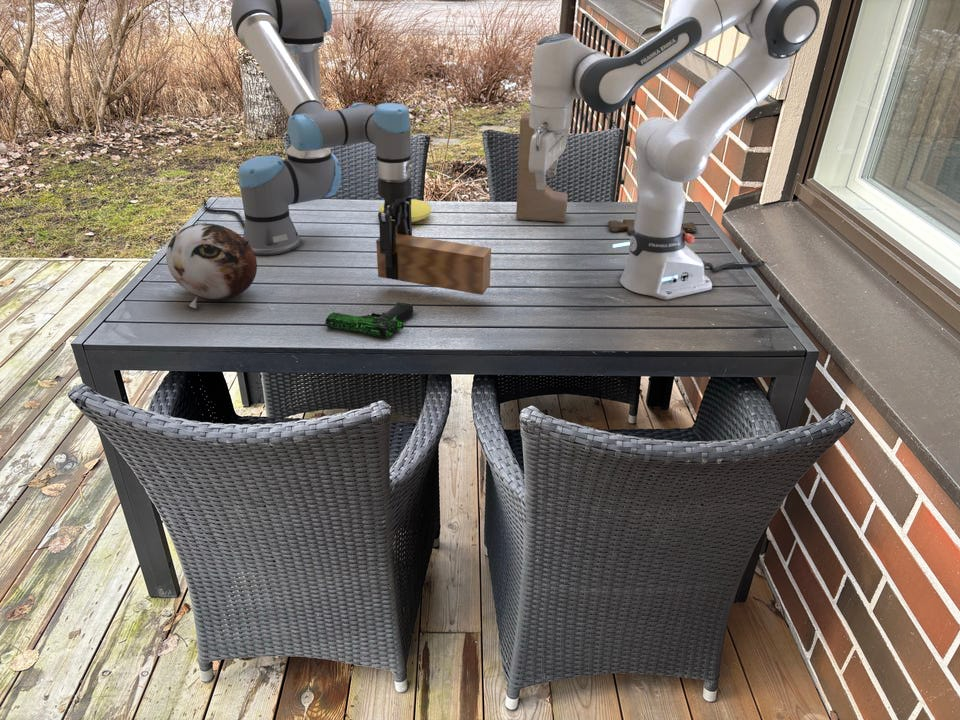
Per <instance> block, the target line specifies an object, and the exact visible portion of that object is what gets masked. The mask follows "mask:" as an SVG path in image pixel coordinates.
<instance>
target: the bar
mask: <svg viewBox="0 0 960 720" xmlns="http://www.w3.org/2000/svg"><path fill="white" fill-rule="evenodd" d="M375 244H376V262H377V263H376V265H377V277H378V278H383V279H387V280H391V279H390V278H386V259H385V254H381V253H380V236H379V237H378V238H376V240H375ZM395 253H397V261H398V279H397V280H396V279H392V280H394V281H400V282H405V283H411V284H418V285H421V286H422V285H423V286H429V287H434V288H440V289H446V290H452V291H458V292H464V293H469V294H475V295H479V296H483V295H484V293H485V292H486V291H487V289H488V288H490V286H491V264H492V248H491V247H486V246H481V245H480V246H479V245H474V244H468V243H467V244H466V243H462V242H461V243H460V242H455V241H449V240H441V239H435V238H429V237H422V236H417V235H416V236H415V235H412V236H410V235H404V234H397V237H396V249H395Z"/></svg>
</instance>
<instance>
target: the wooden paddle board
mask: <svg viewBox="0 0 960 720" xmlns="http://www.w3.org/2000/svg"><path fill="white" fill-rule="evenodd" d="M634 221H635V219H623V220H622V222H621V221H619V220H615V219H614V220H608V221H607V224H608V229H609V231H610V232H613V233H615V232H616V233H617V232H623V231H627V234H629V235H631V231H632V227H633V226H634ZM682 228H683V229H682ZM688 229H689V230H688ZM681 230H683V231H684V232H685V233H696V231H697V228H696V224H695V223H694V222H691V221H690V222H682V226H681ZM693 230H696V231H693Z"/></svg>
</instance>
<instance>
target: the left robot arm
mask: <svg viewBox="0 0 960 720" xmlns="http://www.w3.org/2000/svg"><path fill="white" fill-rule="evenodd" d="M230 20H231V21H230V22H231V26H232V30H233V32H234V35H235V36H236V38H237V40H238V41H239V43H240V44H241V45H242V46H243V47H244V48H245V49H247V50H249V51H250V53H251V54H252V56H253V58H254V60H255V62H256V63H257V65H258V66H259V68H260V70H261V71H262V73H263V75H264V76H265V78H266V80H267V81H268V83H269V85H270V86H271V88H272V90H273V91H274V94H275V95H276V96H277V98H278V100H279V101H280V103H281V105H282V107H283V109H284V111H286V113H287V115H288V116H289V118H288V120H287V124H286V125H287V126H286V130H287V135H288V137H289V142H290V146H289V147H288V148H287V150H286V157H287V158H286V159H285V160H283V158H282V157H281V156H279V155H275V154H274V155H273V154H269V155H260V156H259V155H258V156H256V157H252V158H250V159H247V160H245V161H244V162H243V163H241V165H239V167H238V170H237V174H238V186H239V190H240V196H241V201H242V208H243V212H244V213H243V215H244V219H245V220H244V219H243V218H242V216H241V215H240V213H239V212H237V211H235V210H230V209H215V208H209V207H208V206H207V205H208V204H207V203H208V201H207V200H205V199H204V201H203V207H204V209H205V210H206V211H207V212H211V213H224V214H225V213H227V214H228V213H229V214H233V215H236V216H237V218H238V220H239V221H240V223H241V225H242V227H243V228H244V229H243V235H242V237H243V238H244V239H245V240H246V241H249V242H248V244H249V245H250V247H251V248H252V250H253V252H254V254H255V256H256V255H257V256H275V255H281V254H282V255H283V254H285V253H289V252H291V251H293V250H296V249H297V248H298V247H299V246H300V244H301V241H300V235H299V233H298V231H297V229H296V227H295V225H294V223H293V220H292V218H291V216H290V207H289V206H291V205H296V204H301V203H306V202H312V201H317V200H323V199H325V198H329V197H333V196H334V195H336V193H337V192H338V191H339V189H340V186H341V181H342V170H341V166H340V161H339V159H338V157H337V156H336V155H335V154H334V153H332V149H331V148H335V147H342V146H349V145H355V144H362V143H370V144H372V145H374V146H375V157H376V158H375V159H376V161H375V162H376V176H377V194H378V196H379V197H381V198H382V199H383V202H384V203H383V204H384V211H383V212H380V211H379V212H378V213H377V218H378V222H379V223H378V225H379V237H380V253H381V254H385V259H386V278H385V279H387V278H390V279H389V280H393V279H396V280H395V281H398V280H397V279H398V261H397V253H395V249H396V237H397V234H404V235H410V236H413V224H412V223H413V222H412V219H411V200H412V199H413V198H412V196H411V195H412V191H413V190H412V179H411V176H412V169H413V165H412V162H411V160H412V159H411V155H412V154H411V153H412V151H411V149H412V148H411V147H412V145H411V127H412V125H411V124H412V123H411V121H410V120H411V119H410V109H409V108H408V106H406V105H405V104H402V103H395V102H383V103H380V104H377V105H376V106H374V105H372V104H369V103H365V102H354V103H353V104H351V105H350V106H348V107H347V108H342V109H341V108H340V109H333V110H326V108H325V106H323V99H322V97H323V96H322V82H321V67H320V52H319V51H320V48H321V47H322V45H323V44H324V43H325V35H324V34H326V33H327V32H329V31H330V30H331V28H332V24H333V12H332V7H331V3H330V0H232V5H231V8H230ZM206 202H207V203H206ZM205 206H206V207H205ZM391 219H392V220H391ZM393 220H395V221H393Z"/></svg>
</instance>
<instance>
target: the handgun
mask: <svg viewBox="0 0 960 720" xmlns="http://www.w3.org/2000/svg"><path fill="white" fill-rule="evenodd" d="M413 305H414V304H413ZM413 305H412V304H410V303H406V302H399V301H397V302H396V304H395V305H394V306H393V307H391V308H390V309H389V310H388V311H386V312H382V313H381V314H380V313H376V312H375V313H374V312H372V313H371V314H366V315H361V316H357V315H352V314H344V313H341V312H331V313H330V314H328V315H327V316H326V318H325V322H324V323H325V326H326V327H327V328H332V329H337V330H346V331H350V332H357V333H362V334H366V335H369V336H374V337H375V338H381V339H388V338H390V337H391V336H393V335H394V334H396V332H397V331H401V330H403V329H404V328H405V324H404V323H403V322H404V321H406V320H409V319H410V318H411V317H412V316H413V315H414V306H413Z"/></svg>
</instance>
